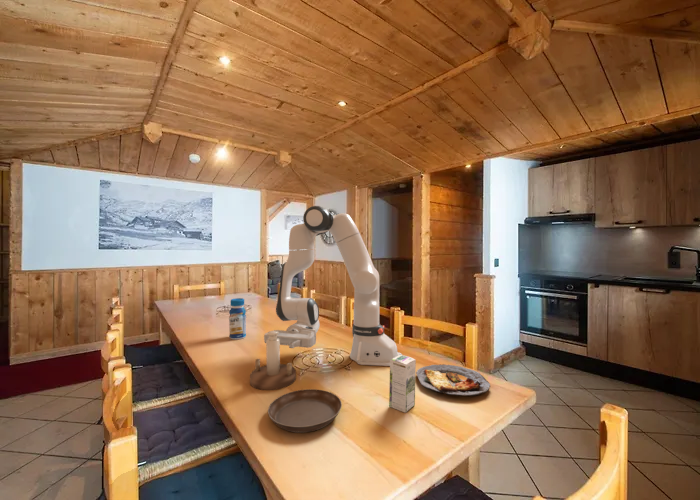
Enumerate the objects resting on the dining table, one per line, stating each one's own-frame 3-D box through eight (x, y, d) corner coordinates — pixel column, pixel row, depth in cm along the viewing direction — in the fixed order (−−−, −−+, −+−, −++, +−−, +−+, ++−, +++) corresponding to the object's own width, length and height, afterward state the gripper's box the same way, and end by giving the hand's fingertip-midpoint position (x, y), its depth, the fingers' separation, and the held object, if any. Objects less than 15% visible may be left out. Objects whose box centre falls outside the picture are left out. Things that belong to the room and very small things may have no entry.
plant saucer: (254, 416, 89) (254, 404, 89) (311, 392, 104) (311, 382, 104) (296, 450, 74) (296, 436, 74) (356, 416, 89) (356, 405, 89)
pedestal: (303, 373, 118) (303, 356, 117) (281, 393, 102) (281, 373, 102) (266, 368, 123) (266, 351, 122) (240, 386, 107) (240, 367, 107)
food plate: (501, 401, 97) (501, 390, 97) (426, 401, 97) (426, 390, 97) (471, 370, 122) (471, 361, 122) (411, 370, 122) (411, 361, 122)
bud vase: (282, 371, 114) (281, 331, 113) (275, 376, 109) (275, 334, 109) (271, 369, 115) (270, 330, 115) (264, 374, 111) (263, 333, 111)
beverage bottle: (249, 336, 164) (249, 298, 163) (236, 341, 157) (235, 301, 156) (239, 334, 168) (238, 297, 168) (225, 338, 161) (225, 299, 161)
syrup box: (398, 399, 98) (398, 353, 98) (415, 405, 94) (415, 358, 94) (388, 407, 94) (389, 359, 93) (406, 413, 90) (406, 363, 89)
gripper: (274, 324, 132) (255, 334, 119) (319, 328, 126) (304, 338, 113) (274, 339, 132) (255, 350, 119) (319, 344, 126) (304, 356, 113)
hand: (279, 344), depth 116 cm, fingers open, 8 cm apart
